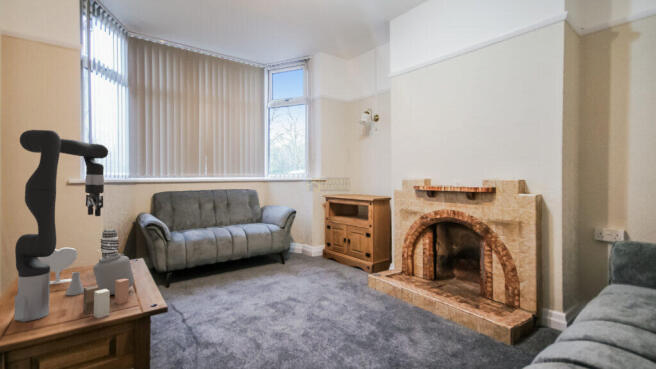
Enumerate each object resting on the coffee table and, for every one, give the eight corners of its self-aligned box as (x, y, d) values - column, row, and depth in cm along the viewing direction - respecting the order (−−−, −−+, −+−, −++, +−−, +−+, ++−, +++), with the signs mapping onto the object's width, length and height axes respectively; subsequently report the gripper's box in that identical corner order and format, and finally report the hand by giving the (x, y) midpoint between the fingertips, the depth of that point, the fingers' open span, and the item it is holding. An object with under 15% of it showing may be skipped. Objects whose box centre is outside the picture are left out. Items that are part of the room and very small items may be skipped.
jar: (85, 301, 139) (86, 246, 139) (89, 291, 152) (90, 241, 152) (134, 294, 149) (135, 243, 149) (134, 285, 162) (135, 238, 162)
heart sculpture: (37, 286, 157) (38, 251, 157) (37, 283, 161) (38, 249, 160) (76, 280, 168) (77, 247, 168) (75, 278, 171) (76, 246, 171)
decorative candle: (95, 271, 184) (96, 230, 184) (109, 267, 193) (110, 228, 193) (108, 272, 183) (109, 231, 183) (121, 268, 192) (122, 228, 192)
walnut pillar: (98, 310, 130) (98, 287, 130) (86, 314, 126) (87, 289, 126) (94, 308, 132) (95, 285, 132) (83, 311, 129) (83, 287, 129)
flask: (73, 296, 145) (74, 275, 145) (61, 295, 146) (62, 274, 146) (88, 291, 152) (89, 271, 152) (76, 290, 153) (77, 270, 153)
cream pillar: (109, 314, 126) (109, 290, 126) (97, 318, 123) (98, 293, 123) (105, 312, 128) (105, 288, 128) (93, 315, 125) (94, 291, 125)
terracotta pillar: (128, 301, 140) (128, 279, 140) (118, 304, 137) (119, 282, 137) (124, 299, 143) (125, 278, 143) (114, 302, 139) (115, 280, 139)
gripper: (80, 183, 156) (79, 215, 156) (91, 184, 148) (91, 217, 149) (97, 183, 162) (96, 213, 163) (109, 184, 155) (108, 216, 155)
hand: (94, 215), depth 156 cm, fingers open, 8 cm apart
